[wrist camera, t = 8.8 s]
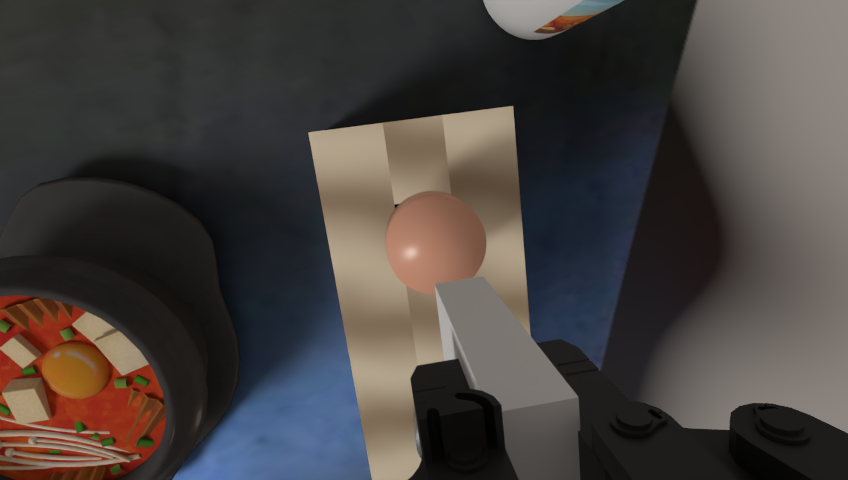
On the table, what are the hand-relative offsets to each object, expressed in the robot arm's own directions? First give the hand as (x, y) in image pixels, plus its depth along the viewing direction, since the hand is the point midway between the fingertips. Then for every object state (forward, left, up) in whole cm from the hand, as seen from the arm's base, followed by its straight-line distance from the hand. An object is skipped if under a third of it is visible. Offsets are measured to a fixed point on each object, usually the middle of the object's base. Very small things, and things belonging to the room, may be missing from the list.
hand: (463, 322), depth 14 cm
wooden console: (-6, 0, -20) cm, 21 cm away
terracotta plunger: (0, 0, -18) cm, 18 cm away
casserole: (-7, +23, -21) cm, 31 cm away
